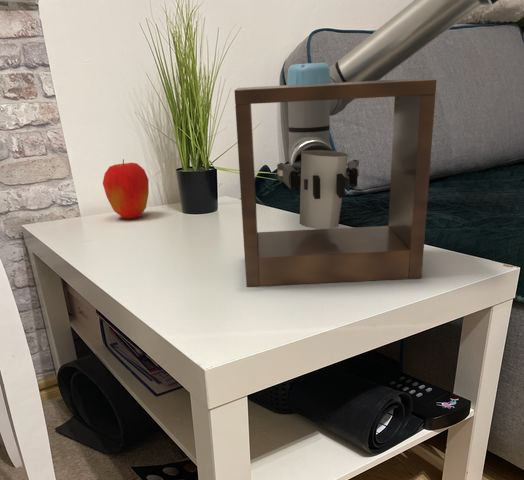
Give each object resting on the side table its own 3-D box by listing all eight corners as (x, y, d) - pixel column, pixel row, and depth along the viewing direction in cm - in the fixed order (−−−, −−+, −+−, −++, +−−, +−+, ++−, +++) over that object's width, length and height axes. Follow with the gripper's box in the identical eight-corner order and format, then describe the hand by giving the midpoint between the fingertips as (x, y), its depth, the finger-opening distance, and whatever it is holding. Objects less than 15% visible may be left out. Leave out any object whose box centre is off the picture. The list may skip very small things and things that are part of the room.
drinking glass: (288, 220, 86) (292, 150, 82) (325, 217, 89) (332, 150, 85) (310, 231, 81) (317, 157, 77) (350, 228, 84) (358, 156, 79)
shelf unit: (398, 250, 91) (408, 79, 81) (421, 278, 79) (436, 79, 68) (247, 257, 91) (237, 87, 81) (246, 286, 79) (234, 90, 68)
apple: (146, 210, 128) (139, 154, 123) (158, 218, 121) (150, 158, 115) (105, 216, 125) (95, 158, 119) (113, 224, 117) (104, 163, 112)
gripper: (359, 184, 100) (386, 213, 79) (269, 188, 100) (272, 218, 79) (360, 138, 97) (389, 156, 76) (267, 143, 97) (270, 162, 76)
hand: (329, 188), depth 77 cm, fingers closed on drinking glass, 3 cm apart
